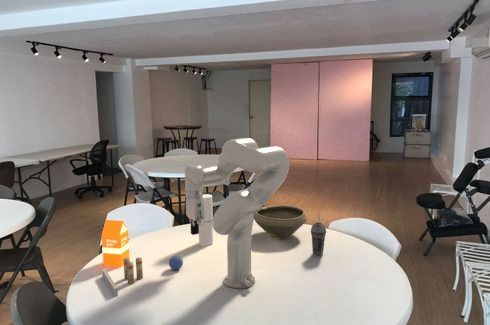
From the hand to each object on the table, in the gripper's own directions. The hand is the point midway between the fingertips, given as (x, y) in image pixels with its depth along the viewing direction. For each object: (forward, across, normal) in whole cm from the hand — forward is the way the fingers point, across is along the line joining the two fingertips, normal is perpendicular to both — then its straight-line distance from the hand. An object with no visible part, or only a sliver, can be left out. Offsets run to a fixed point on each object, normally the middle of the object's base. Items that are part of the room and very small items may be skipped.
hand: (194, 233), depth 172 cm
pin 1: (+14, +2, +30) cm, 33 cm away
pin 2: (+14, -3, +30) cm, 33 cm away
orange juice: (+15, +20, +29) cm, 39 cm away
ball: (+11, 0, +9) cm, 15 cm away
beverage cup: (+14, -22, -54) cm, 59 cm away
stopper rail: (+14, 0, +37) cm, 40 cm away
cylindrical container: (+15, +20, -16) cm, 30 cm away
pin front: (+14, 0, +25) cm, 29 cm away
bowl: (+14, +10, -55) cm, 57 cm away
